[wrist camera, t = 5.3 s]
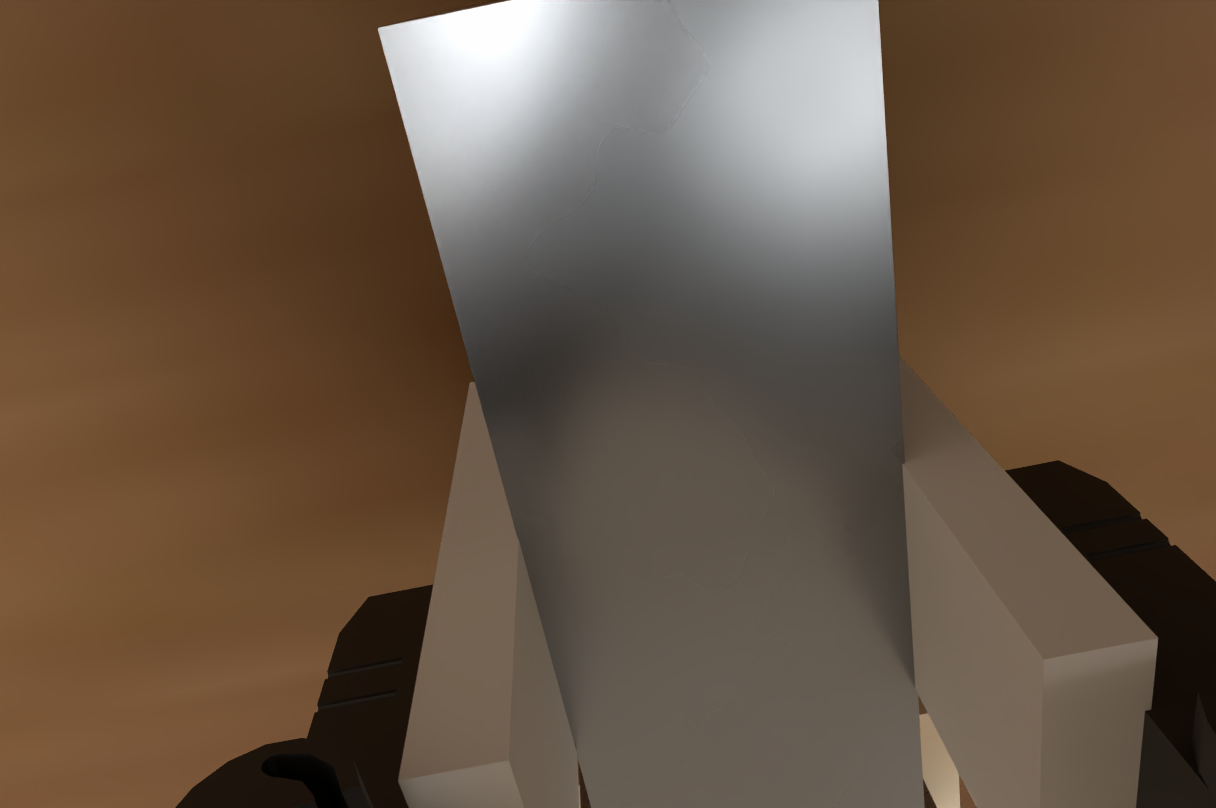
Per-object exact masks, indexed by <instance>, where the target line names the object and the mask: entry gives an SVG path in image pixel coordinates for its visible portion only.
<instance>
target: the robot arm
mask: <svg viewBox="0 0 1216 808" xmlns="http://www.w3.org/2000/svg"><path fill="white" fill-rule="evenodd" d="M899 371H900V388H901V405H902V423H903V440H904V458H905V463H904V464H902V468H903V485H904V502H905V519H906V537H907V554H908V571H909V588H910V605H911V622H912V639H913V657H914V674H915V689H916V691H917V693H918V695H919V697H920V699H921V701H922V703H923V705H924V707H925V708H926V710H927V712H928V714H929V716H930V718H931V720H932V722H933V724H934V726H935V728H936V730H937V732H938V734H939V736H940V738H941V740H942V741H943V743H944V745H945V747H946V749H947V751H948V753H949V755H950V757H951V759H952V761H953V763H954V765H955V767H956V769H957V771H958V773H959V774H960V776H961V778H962V780H963V782H964V784H965V786H966V788H967V790H968V792H969V794H970V796H971V798H972V800H973V802H974V804H975V806H976V807H977V808H1216V581H1214V580H1213V579H1212V578H1211V577H1210V576H1209V575H1208V574H1207V573H1206V572H1205V571H1203V570H1202V569H1201V568H1200V567H1199V566H1198V565H1197V564H1196V563H1195V562H1194V561H1193V560H1191V559H1190V558H1189V557H1188V556H1187V555H1186V554H1185V553H1184V552H1183V551H1182V550H1180V549H1179V548H1178V547H1177V546H1176V545H1174V546H1171V545H1170V544H1169V541H1168V538H1167V537H1166V536H1165V535H1164V534H1163V533H1162V532H1161V531H1160V530H1159V529H1157V528H1156V527H1155V526H1154V525H1153V524H1152V523H1151V522H1150V521H1149V520H1148V519H1143V520H1142V518H1141V516H1140V512H1139V511H1138V510H1137V509H1136V508H1134V507H1133V506H1132V505H1131V504H1130V503H1129V502H1128V501H1127V500H1126V499H1125V498H1123V497H1122V496H1121V495H1120V494H1119V493H1118V492H1117V491H1116V490H1115V489H1114V488H1113V487H1111V486H1110V485H1109V484H1108V483H1107V482H1105V481H1103V480H1101V479H1099V478H1096V477H1094V476H1092V475H1090V474H1087V473H1085V472H1083V471H1081V470H1079V469H1076V468H1074V467H1072V466H1070V465H1067V464H1065V463H1063V462H1061V461H1059V460H1058V461H1053V462H1048V463H1042V464H1037V465H1032V466H1027V467H1022V468H1017V469H1011V470H1006V471H1004V469H1003V468H1002V467H1001V466H1000V465H999V464H998V463H997V462H996V461H995V460H994V459H993V457H992V456H991V455H990V454H989V453H988V452H987V451H986V450H985V449H984V448H983V447H982V445H981V444H980V443H979V442H978V441H977V440H976V439H975V438H974V437H973V436H972V435H971V433H970V432H969V431H968V430H967V429H966V428H965V427H964V426H963V425H962V424H961V423H960V421H959V420H958V419H957V418H956V417H955V416H954V415H953V414H952V413H951V412H950V411H949V409H948V408H947V407H946V406H945V405H944V404H943V403H942V402H941V401H940V400H939V399H938V397H937V396H936V395H935V394H934V393H933V392H932V391H931V390H930V389H929V388H928V387H927V386H926V384H925V383H924V382H923V381H922V380H921V379H920V378H919V377H918V376H917V375H916V374H915V372H914V371H913V370H912V369H911V368H910V367H909V366H908V365H907V364H906V363H905V362H904V360H903V359H902V358H901V357H900V356H899ZM327 672H328V679H325V681H324V684H323V688H322V691H321V694H320V697H319V701H318V704H317V705H318V712H316V713H315V714H314V717H313V720H312V723H311V727H310V730H309V733H308V736H307V739H305V738H299V739H294V740H288V741H283V742H277V743H271V744H266V745H264V746H262V747H259V748H257V749H255V750H253V751H250V752H248V753H246V754H244V755H242V756H239V757H237V758H235V759H233V760H231V761H228V762H227V763H225V764H224V765H223V766H221V767H220V768H219V769H217V770H216V771H215V772H213V773H212V774H211V775H209V776H208V777H207V778H205V779H204V780H203V781H201V782H200V783H198V784H197V785H196V786H194V787H193V788H192V789H191V790H190V791H189V793H188V794H187V795H186V796H185V797H184V798H183V800H182V801H181V802H180V803H179V804H178V805H177V807H176V808H579V786H578V762H577V751H576V748H575V744H574V740H573V737H572V733H571V729H570V726H569V722H568V718H567V715H566V711H565V707H564V704H563V700H562V696H561V693H560V689H559V685H558V682H557V678H556V674H555V671H554V667H553V663H552V660H551V656H550V652H549V649H548V645H547V641H546V638H545V634H544V630H543V627H542V623H541V619H540V616H539V612H538V608H537V605H536V601H535V597H534V594H533V590H532V586H531V583H530V579H529V576H528V572H527V568H526V565H525V561H524V557H523V554H522V550H521V546H520V543H519V539H518V538H517V535H516V531H515V527H514V524H513V520H512V516H511V513H510V509H509V505H508V502H507V498H506V494H505V491H504V487H503V484H502V480H501V476H500V473H499V469H498V465H497V462H496V458H495V454H494V451H493V447H492V443H491V440H490V436H489V432H488V429H487V425H486V422H485V418H484V414H483V411H482V407H481V403H480V400H479V396H478V392H477V389H476V385H475V382H470V384H469V389H468V395H467V400H466V406H465V411H464V417H463V422H462V428H461V434H460V439H459V445H458V450H457V456H456V461H455V467H454V473H453V478H452V484H451V489H450V495H449V500H448V506H447V511H446V517H445V523H444V528H443V534H442V539H441V545H440V550H439V556H438V562H437V567H436V573H435V578H434V584H433V585H428V586H423V587H418V588H413V589H408V590H402V591H397V592H392V593H387V594H382V595H377V596H371V597H368V599H367V600H366V601H365V602H364V603H363V605H362V606H361V607H360V608H359V610H358V611H357V612H356V613H355V615H354V616H353V617H352V618H351V619H350V621H349V622H348V623H347V624H346V626H345V627H344V628H343V629H342V631H341V632H340V633H339V636H338V639H337V642H336V646H335V649H334V652H333V655H332V659H331V662H330V665H329V668H328V671H327Z"/></svg>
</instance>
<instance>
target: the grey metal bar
mask: <svg viewBox="0 0 1216 808" xmlns="http://www.w3.org/2000/svg"><path fill="white" fill-rule="evenodd" d="M378 31H379V35H380V39H381V42H382V46H383V49H384V53H385V57H386V60H387V64H388V68H389V71H390V75H391V79H392V82H393V86H394V90H395V93H396V97H397V101H398V104H399V108H400V111H401V115H402V119H403V122H404V126H405V130H406V133H407V137H408V141H409V144H410V148H411V152H412V155H413V159H414V163H415V166H416V170H417V173H418V177H419V181H420V184H421V188H422V192H423V195H424V199H425V203H426V206H427V210H428V214H429V217H430V221H431V225H432V228H433V232H434V236H435V239H436V243H437V246H438V250H439V254H440V257H441V261H442V265H443V268H444V272H445V276H446V279H447V283H448V287H449V290H450V294H451V298H452V301H453V305H454V308H455V312H456V316H457V319H458V323H459V327H460V330H461V334H462V338H463V341H464V345H465V349H466V352H467V356H468V360H469V363H470V367H471V370H472V374H473V378H474V381H475V385H476V389H477V392H478V396H479V400H480V403H481V407H482V411H483V414H484V418H485V422H486V425H487V429H488V432H489V436H490V440H491V443H492V447H493V451H494V454H495V458H496V462H497V465H498V469H499V473H500V476H501V480H502V484H503V487H504V491H505V494H506V498H507V502H508V505H509V509H510V513H511V516H512V520H513V524H514V527H515V531H516V535H517V538H518V539H519V543H520V546H521V550H522V554H523V557H524V561H525V565H526V568H527V572H528V576H529V579H530V583H531V586H532V590H533V594H534V597H535V601H536V605H537V608H538V612H539V616H540V619H541V623H542V627H543V630H544V634H545V638H546V641H547V645H548V649H549V652H550V656H551V660H552V663H553V667H554V671H555V674H556V678H557V682H558V685H559V689H560V693H561V696H562V700H563V704H564V707H565V711H566V715H567V718H568V722H569V726H570V729H571V733H572V737H573V740H574V744H575V748H576V751H577V757H578V761H579V783H580V806H581V808H937V807H936V805H935V802H934V800H933V798H932V796H931V794H930V792H929V790H928V788H927V786H926V784H925V782H924V779H923V771H922V754H921V736H920V719H919V701H918V693H917V691H916V689H915V674H914V657H913V639H912V622H911V605H910V588H909V571H908V554H907V537H906V519H905V502H904V485H903V468H902V464H904V463H905V458H904V440H903V423H902V405H901V388H900V371H899V353H898V336H897V318H896V301H895V284H894V266H893V249H892V231H891V214H890V197H889V179H888V162H887V144H886V127H885V110H884V92H883V75H882V57H881V40H880V23H879V5H878V0H496V1H491V2H487V3H482V4H477V5H472V6H467V7H463V8H458V9H453V10H448V11H443V12H439V13H435V14H431V15H427V16H423V17H419V18H415V19H411V20H407V21H403V22H399V23H395V24H392V25H388V26H384V27H380V28H378Z"/></svg>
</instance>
